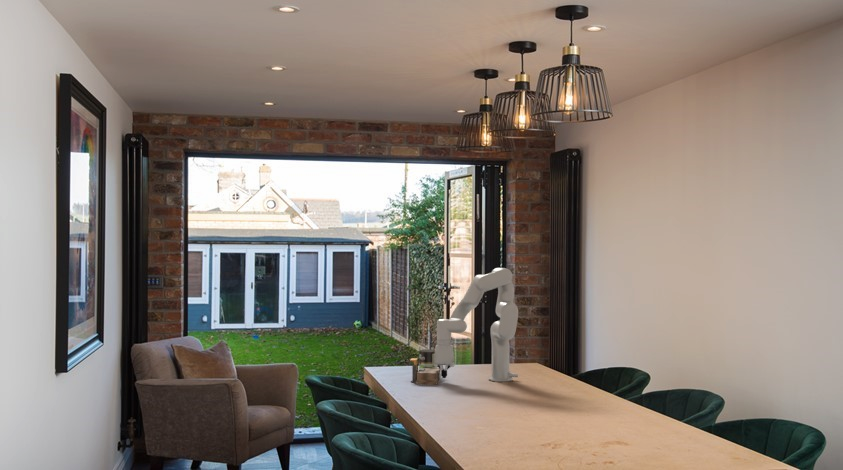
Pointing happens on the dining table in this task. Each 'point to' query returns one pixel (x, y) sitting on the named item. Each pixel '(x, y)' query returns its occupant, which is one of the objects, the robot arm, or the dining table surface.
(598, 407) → the dining table surface
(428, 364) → the coffee can
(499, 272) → the robot arm
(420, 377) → the block
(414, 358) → the plate
